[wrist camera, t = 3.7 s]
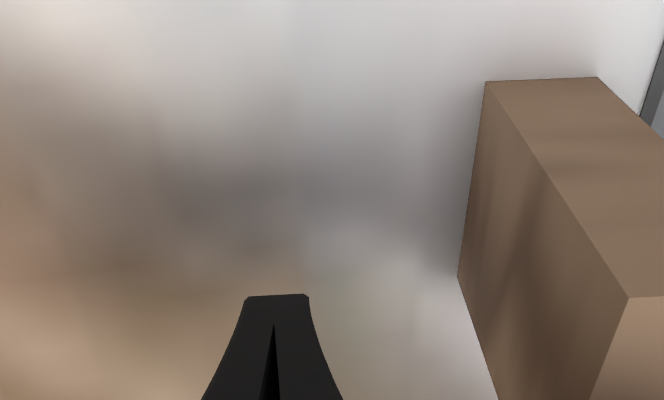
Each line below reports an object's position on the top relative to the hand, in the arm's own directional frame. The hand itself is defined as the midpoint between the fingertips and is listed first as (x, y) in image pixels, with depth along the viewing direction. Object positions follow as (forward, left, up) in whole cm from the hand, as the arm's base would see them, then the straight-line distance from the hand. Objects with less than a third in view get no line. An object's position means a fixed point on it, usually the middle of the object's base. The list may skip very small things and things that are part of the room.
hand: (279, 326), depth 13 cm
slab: (0, -7, -5) cm, 9 cm away
